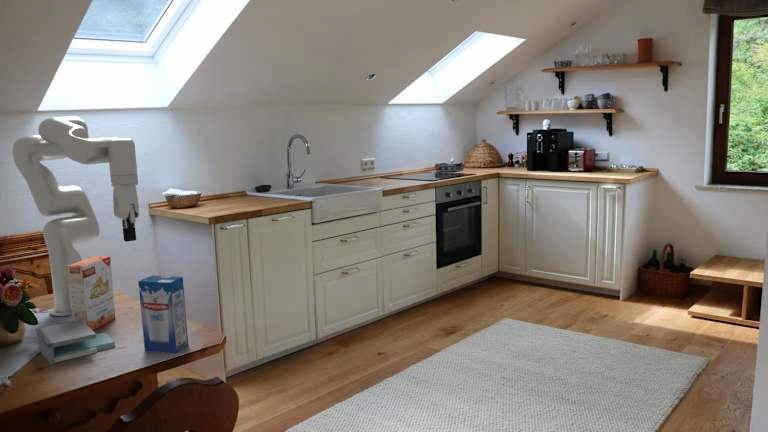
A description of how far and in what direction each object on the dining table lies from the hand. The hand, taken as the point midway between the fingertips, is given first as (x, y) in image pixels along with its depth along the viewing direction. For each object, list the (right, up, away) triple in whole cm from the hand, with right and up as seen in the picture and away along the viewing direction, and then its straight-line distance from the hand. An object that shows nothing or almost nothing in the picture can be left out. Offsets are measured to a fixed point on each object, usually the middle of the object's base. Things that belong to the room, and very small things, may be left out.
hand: (130, 240), depth 199 cm
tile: (-9, -31, -13) cm, 34 cm away
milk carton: (+16, -30, -15) cm, 37 cm away
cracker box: (-13, -27, +6) cm, 31 cm away
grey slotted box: (-12, -30, -15) cm, 36 cm away
